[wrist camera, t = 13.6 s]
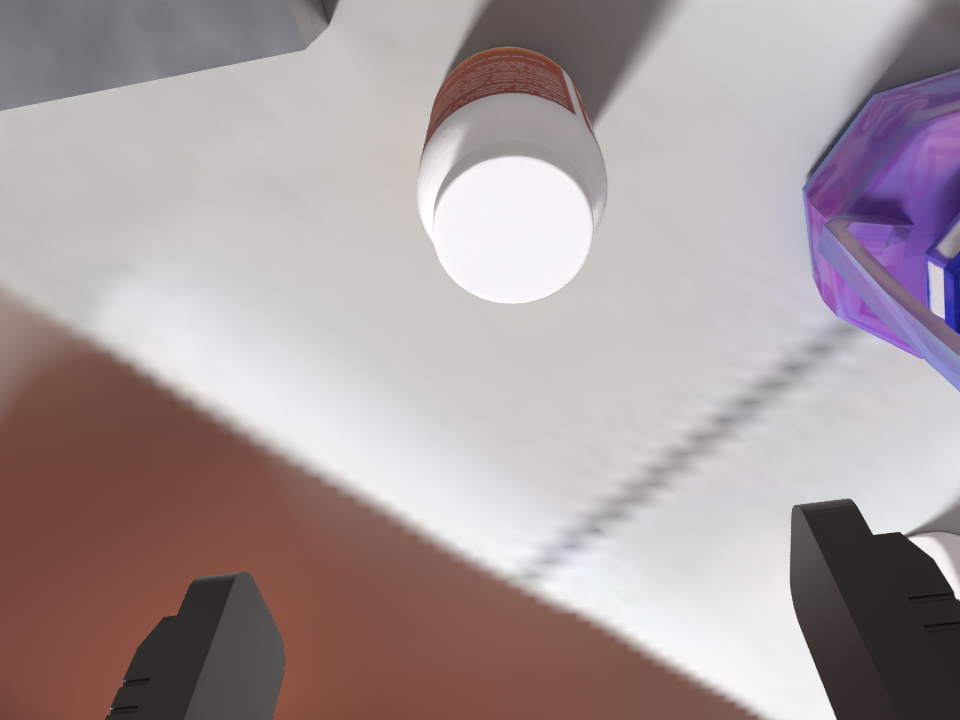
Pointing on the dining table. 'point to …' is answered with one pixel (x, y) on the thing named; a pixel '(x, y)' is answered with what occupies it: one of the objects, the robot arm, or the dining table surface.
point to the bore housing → (138, 41)
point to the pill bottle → (511, 176)
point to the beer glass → (942, 554)
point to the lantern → (894, 221)
